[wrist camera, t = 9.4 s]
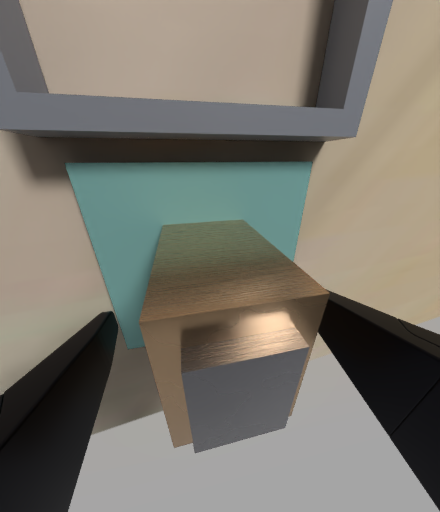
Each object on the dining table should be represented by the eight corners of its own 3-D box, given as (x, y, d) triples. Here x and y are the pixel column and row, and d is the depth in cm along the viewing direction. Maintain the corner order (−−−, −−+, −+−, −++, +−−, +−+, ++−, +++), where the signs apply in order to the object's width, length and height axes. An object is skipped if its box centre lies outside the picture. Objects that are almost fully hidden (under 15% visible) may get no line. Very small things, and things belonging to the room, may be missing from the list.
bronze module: (176, 309, 13) (173, 472, 6) (162, 224, 10) (132, 347, 3) (239, 300, 13) (299, 435, 7) (242, 219, 11) (350, 310, 4)
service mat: (129, 342, 14) (128, 349, 13) (71, 163, 8) (64, 163, 8) (278, 317, 16) (281, 323, 15) (305, 161, 11) (312, 161, 10)
